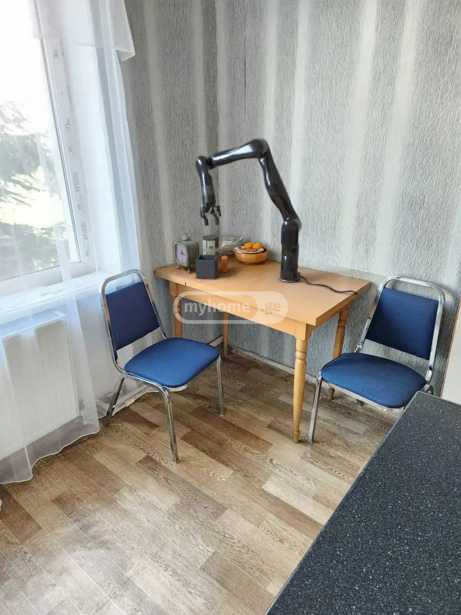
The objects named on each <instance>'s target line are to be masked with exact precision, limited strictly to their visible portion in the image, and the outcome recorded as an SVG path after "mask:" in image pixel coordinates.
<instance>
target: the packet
mask: <svg viewBox="0 0 461 615" xmlns="http://www.w3.org/2000/svg"><path fill="white" fill-rule="evenodd" d="M228 258H229V257H228V255H222V256H221V258H220V272H221V273H227V272H228V270H229V269H228V268H229V267H228V266H229V263H228V260H229V259H228Z"/></svg>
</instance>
